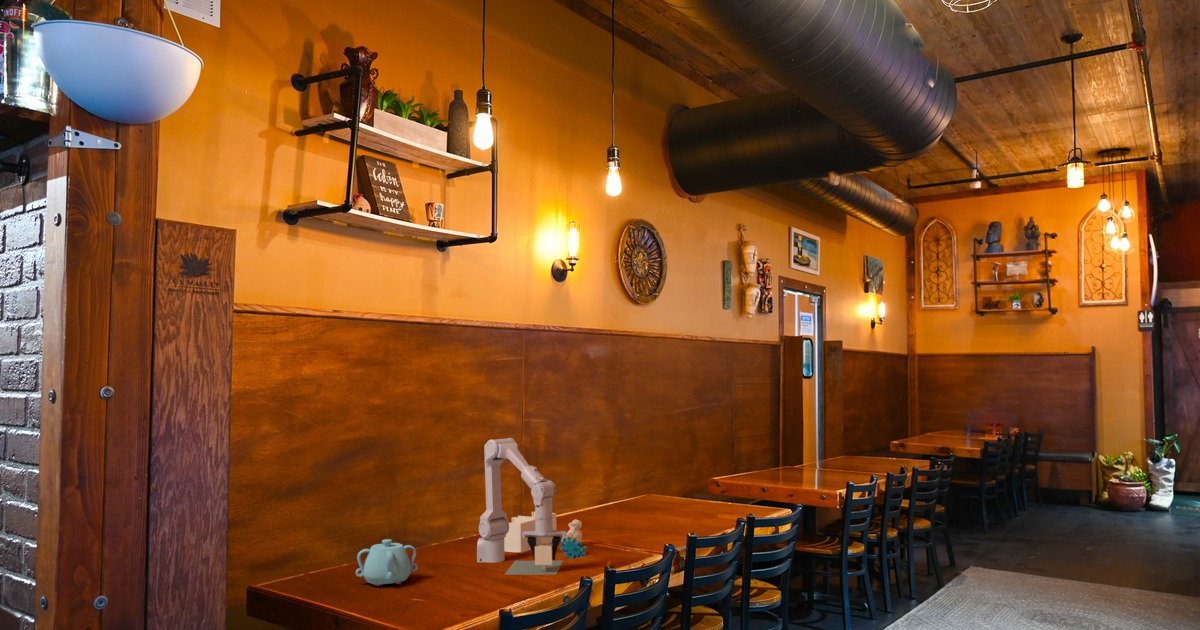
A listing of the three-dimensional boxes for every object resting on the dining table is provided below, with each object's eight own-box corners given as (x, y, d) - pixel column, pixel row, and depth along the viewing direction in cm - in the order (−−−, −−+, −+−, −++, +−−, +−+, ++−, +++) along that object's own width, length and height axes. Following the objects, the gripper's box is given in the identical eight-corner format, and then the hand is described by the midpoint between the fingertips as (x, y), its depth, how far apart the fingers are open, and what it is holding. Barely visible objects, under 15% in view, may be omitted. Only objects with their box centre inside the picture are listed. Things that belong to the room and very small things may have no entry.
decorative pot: (349, 585, 267) (349, 542, 268) (386, 574, 281) (386, 533, 282) (386, 591, 259) (386, 547, 259) (422, 579, 272) (422, 537, 273)
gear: (567, 558, 291) (558, 535, 298) (559, 569, 294) (550, 545, 301) (592, 558, 298) (583, 535, 304) (584, 568, 300) (576, 545, 307)
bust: (565, 555, 315) (580, 532, 313) (551, 541, 318) (566, 519, 316) (581, 549, 326) (596, 527, 323) (568, 535, 329) (582, 514, 326)
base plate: (504, 578, 272) (504, 574, 272) (514, 564, 292) (514, 560, 292) (556, 578, 271) (556, 574, 271) (563, 564, 291) (563, 560, 291)
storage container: (520, 553, 310) (520, 523, 311) (496, 551, 315) (496, 521, 316) (556, 541, 332) (556, 513, 333) (533, 539, 337) (533, 511, 338)
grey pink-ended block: (542, 571, 275) (541, 559, 275) (543, 569, 278) (543, 557, 278) (545, 571, 275) (545, 559, 275) (546, 569, 278) (546, 557, 278)
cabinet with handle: (534, 564, 274) (534, 546, 274) (537, 561, 279) (537, 542, 280) (551, 564, 273) (551, 546, 274) (553, 560, 279) (553, 542, 279)
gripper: (520, 520, 274) (520, 562, 273) (564, 520, 273) (564, 562, 272) (523, 516, 281) (524, 557, 280) (566, 516, 280) (567, 557, 279)
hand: (544, 559), depth 277 cm, fingers closed on cabinet with handle, 6 cm apart
